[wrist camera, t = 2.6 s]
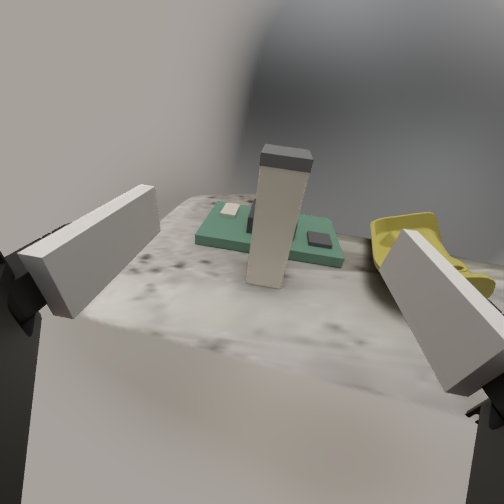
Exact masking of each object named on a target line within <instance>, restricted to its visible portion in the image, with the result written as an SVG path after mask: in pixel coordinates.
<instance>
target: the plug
mask: <svg viewBox="0 0 504 504" xmlns="http://www.w3.org/2000/svg"><path fill="white" fill-rule="evenodd" d="M312 164H313V158H312V155H311V153H310V151H309V150H305V149H298V148H291V147H284V146H277V145H270V144H265V146H264V148H263V150H262V152H261V158H260V172H259V179H258V187H257V195H256V203H255V211H254V220H253V228H252V236H251V244H250V252H249V260H248V268H247V276H246V283H248V284H254V285H260V286H266V287H271V288H277V289H280V288H281V284H282V280H283V276H284V272H285V268H286V264H287V260H288V256H289V252H290V248H291V244H292V240H293V236H294V232H295V228H296V224H297V220H298V216H299V212H300V208H301V204H302V200H303V196H304V193H305V189H306V184H307V181H308V176H309V173H310V172H311V168H312Z"/></svg>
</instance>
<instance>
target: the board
mask: <svg viewBox="0 0 504 504" xmlns="http://www.w3.org/2000/svg"><path fill="white" fill-rule="evenodd" d="M255 203H256V199H254V201H253V204H252V206H245V205H240V204H234V203H227V202H220V201H218V202H217V203H216V205H215V206H214V208H213V209H212V211H211V212H210V214H209V215H208V217H207V218H206V219H205V221H204V222H203V224H202V225H201V227H200V228H199V230H198V231H197V233H196V234H195V244H199V245H205V246H211V247H217V248H223V249H229V250H236V251H242V252H248V253H249V252H250V244H251V236H252V228H253V220H254V211H255ZM288 259H290V260H296V261H302V262H308V263H314V264H320V265H326V266H332V267H338V268H341V266H342V264H343V262H344V256H343V253H342V250H341V248H340V245H339V242H338V239H337V236H336V234H335V231H334V228H333V225H332V222H331V220H330V219H329V218H322V217H316V216H310V215H303V214H299V216H298V220H297V224H296V228H295V232H294V236H293V240H292V244H291V248H290V252H289V256H288Z"/></svg>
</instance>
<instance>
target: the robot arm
mask: <svg viewBox="0 0 504 504" xmlns="http://www.w3.org/2000/svg"><path fill="white" fill-rule="evenodd" d="M159 232H160V223H159V216H158V208H157V200H156V192H155V187H154V186H149V185H143V184H140V185H138V186H137V187H135V188H133V189H131V190H130V191H128V192H126V193H125V194H122V195H121V196H119V197H117V198H115V199H113V200H112V201H110V202H108V203H106V204H104V205H103V206H101V207H99V208H97V209H96V210H94V211H92V212H90V213H88V214H87V215H85V216H83V217H81V218H79V219H78V220H76V221H74V222H72V223H68V224H65V225H63V226H61V227H59V228H58V229H55V230H54V231H52V233H48V234H46V235H44V236H43V237H42V238H39V239H37V240H35V241H33V242H32V243H30V244H28V245H26V246H24V247H22V248H21V249H19V250H17V251H15V252H13V253H12V254H10V255H8V256H6V257H4V256H3V255H2V253H1V252H0V504H21V498H22V489H23V480H24V471H25V462H26V453H27V444H28V435H29V426H30V417H31V409H32V400H33V391H34V381H35V372H36V364H37V355H38V346H39V338H40V329H41V320H42V318H41V314H40V313H39V310H40V309H41V308H42V307H44V306H45V305H46V304H47V305H48V307H49V309H50V310H51V312H52V313H53V315H55V316H60V317H66V318H70V319H74V318H75V317H76V316H77V315H78V314H79V313H80V312H81V311H82V310H83V309H84V308H85V307H86V306H87V305H88V304H89V303H90V302H91V301H92V300H93V299H94V298H95V297H96V296H97V295H98V294H99V293H100V292H101V291H102V290H103V289H104V288H105V287H106V286H107V285H108V284H109V283H110V282H111V281H112V280H113V279H114V278H115V277H116V276H117V275H118V274H119V273H120V272H121V271H122V270H123V269H124V268H125V267H126V266H127V265H128V264H129V263H130V262H131V261H132V260H133V259H134V258H135V257H136V255H137V254H138V253H139V252H140V251H141V250H142V249H143V248H144V247H145V246H146V245H147V244H148V243H149V242H150V241H151V240H152V239H153V238H154V237H155V236H156V235H157V234H158V233H159ZM379 272H380V274H381V275H382V277H383V279H384V281H385V283H386V285H387V286H388V288H389V290H390V292H391V294H392V296H393V297H394V299H395V301H396V303H397V305H398V307H399V309H400V310H401V312H402V314H403V316H404V318H405V320H406V321H407V323H408V325H409V327H410V329H411V331H412V332H413V334H414V336H415V338H416V340H417V342H418V343H419V345H420V347H421V349H422V351H423V353H424V354H425V356H426V358H427V360H428V362H429V364H430V365H431V367H432V369H433V371H434V373H435V375H436V376H437V378H438V380H439V382H440V384H441V386H442V387H443V389H444V391H445V392H446V393H452V394H457V395H462V396H467V397H469V396H470V395H472V394H473V393H475V392H476V391H478V390H480V389H481V388H483V390H484V391H485V393H486V394H487V396H488V397H489V398H488V399H487V400H485V401H483V402H482V403H480V404H478V405H477V406H475V407H473V408H472V409H470V410H468V411H467V413H466V414H465V415H466V416H467V417H471V416H473V415H475V414H479V420H477V421H475V423H477V424H478V428H477V435H476V441H475V447H474V454H473V460H472V466H471V473H470V479H469V486H468V492H467V498H466V504H504V314H502V312H501V311H500V310H499V309H498V308H497V307H496V306H495V305H494V304H493V303H492V302H491V301H490V300H488V299H487V298H485V297H484V296H483V295H482V294H481V293H480V292H479V291H478V290H477V289H476V288H475V287H474V286H473V285H472V284H471V283H470V282H469V281H468V280H467V279H466V278H465V277H464V276H463V275H462V274H461V273H460V272H459V271H458V270H457V269H456V268H455V267H454V266H453V265H451V264H450V263H449V262H448V261H447V260H446V259H445V258H444V257H443V256H442V255H441V254H440V253H439V252H438V251H437V250H436V249H435V248H434V247H433V246H432V245H431V244H430V243H429V242H428V241H427V240H426V239H425V238H424V237H423V236H422V235H421V234H420V233H419V232H418V231H414V230H408V229H402V230H401V232H400V234H399V236H398V237H397V239H396V241H395V242H394V244H393V246H392V248H391V249H390V251H389V253H388V254H387V256H386V258H385V260H384V261H383V263H382V265H381V267H380V268H379Z"/></svg>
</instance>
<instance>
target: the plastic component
mask: <svg viewBox="0 0 504 504" xmlns="http://www.w3.org/2000/svg"><path fill="white" fill-rule="evenodd" d="M402 229H408V230H414V231H418V232H419V233H420V234H421V235H422V236H423V237H424V238H425V239H426V240H427V241H428V242H429V243H430V244H431V245H432V246H433V247H434V248H435V249H436V250H437V251H438V252H439V253H440V254H441V255H442V256H443V257H444V258H445V259H446V260H447V261H448V262H449V263H450V264H451V265H453V266H454V267H455V268H456V269H457V270H458V271H459V272H460V273H461V274H462V275H463V276H464V277H465V278H466V279H467V280H468V281H469V282H470V283H471V284H472V285H473V286H474V287H475V288H476V289H477V290H478V291H479V292H480V293H481V294H482V295H483V296H484V297H485V298H488V297H490V296H491V295H492V293H493V291H494V288H495V284H496V283H495V282H494V280H493V279H492V278H491V277H490V276H488V275H485V274H471V273H470V271H469V270H468V268H467V267H466V266H465V265H464V264H463V263H462V262H460V261H459V260H457V259H455V258H452V257H450V255H449V254H448V253H447V252H446V250H445V249H444V247H443V245H442V241H441V236H440V231H439V226H438V222H437V217H436V216H435V215H434V214H433V213H430V212H423V213H415V214H409V215H400V216H392V217H385V218H380V219H377V220H374V221H373V222H371V237H372V249H373V260H374V264H375V266H376V268H377V269H378V271H379V268H380V267H381V265H382V263H383V261H384V260H385V258H386V256H387V254H388V253H389V251H390V249H391V248H392V246H393V244H394V242H395V241H396V239H397V237H398V236H399V234H400V232H401V230H402Z"/></svg>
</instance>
